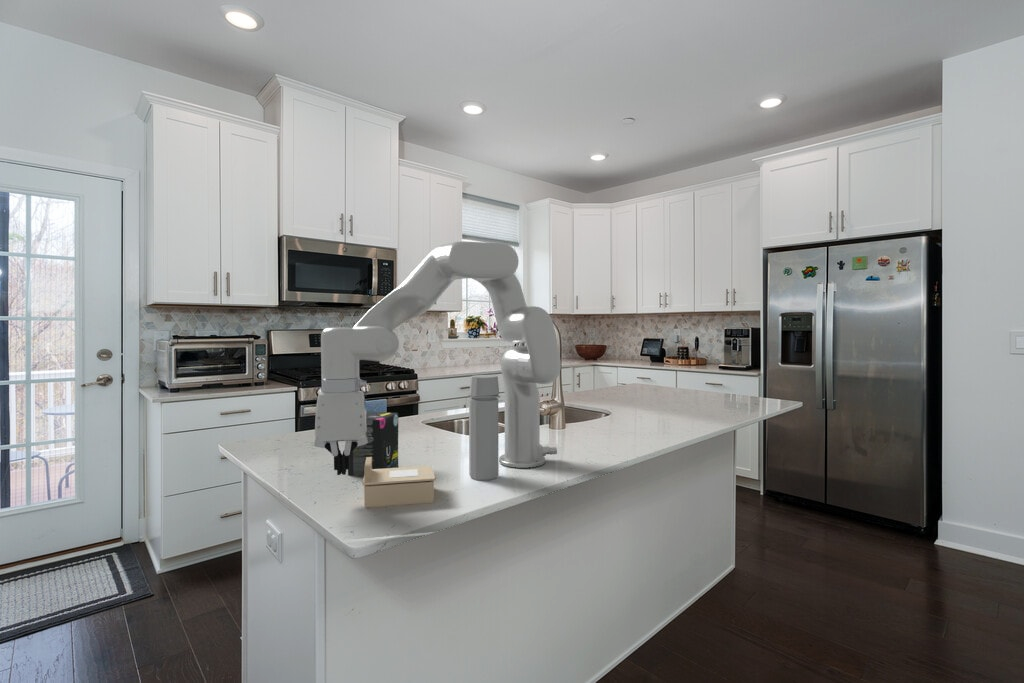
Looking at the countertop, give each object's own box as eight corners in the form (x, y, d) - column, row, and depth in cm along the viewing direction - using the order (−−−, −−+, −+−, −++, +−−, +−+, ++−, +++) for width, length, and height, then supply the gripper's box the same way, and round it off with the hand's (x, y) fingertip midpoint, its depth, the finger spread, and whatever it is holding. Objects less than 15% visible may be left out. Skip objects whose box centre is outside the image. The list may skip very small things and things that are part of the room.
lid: (431, 467, 117) (431, 452, 117) (435, 480, 107) (435, 464, 107) (365, 471, 114) (365, 456, 114) (362, 485, 104) (362, 468, 104)
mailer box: (430, 488, 117) (430, 468, 117) (433, 503, 108) (433, 481, 107) (366, 493, 114) (366, 472, 114) (364, 509, 104) (364, 486, 104)
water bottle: (489, 484, 120) (489, 378, 119) (462, 479, 124) (461, 376, 123) (509, 474, 128) (509, 374, 127) (482, 470, 132) (482, 373, 131)
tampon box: (381, 479, 125) (380, 419, 124) (346, 477, 126) (345, 418, 126) (399, 467, 135) (399, 411, 135) (367, 465, 137) (367, 410, 137)
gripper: (378, 383, 113) (379, 466, 113) (305, 385, 109) (307, 470, 110) (377, 387, 105) (378, 476, 106) (299, 389, 102) (300, 481, 103)
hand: (341, 473), depth 108 cm, fingers closed
